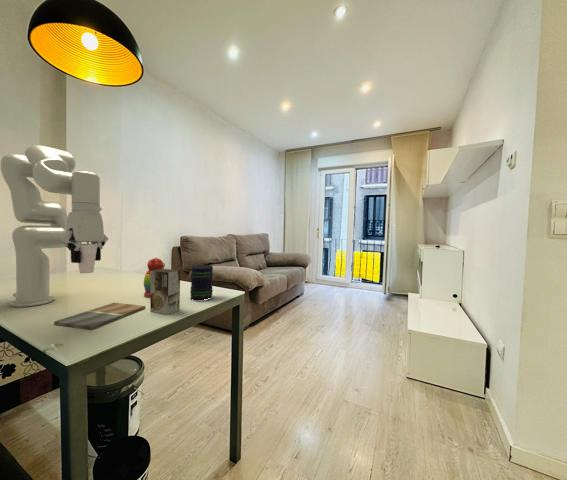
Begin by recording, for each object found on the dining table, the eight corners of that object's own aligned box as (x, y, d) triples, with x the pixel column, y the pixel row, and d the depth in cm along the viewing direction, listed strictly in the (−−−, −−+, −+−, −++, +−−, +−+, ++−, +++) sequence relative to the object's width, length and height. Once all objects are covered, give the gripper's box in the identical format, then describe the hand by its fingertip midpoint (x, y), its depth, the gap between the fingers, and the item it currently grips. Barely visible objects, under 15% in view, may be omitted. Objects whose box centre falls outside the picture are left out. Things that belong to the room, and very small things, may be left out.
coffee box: (180, 310, 98) (181, 269, 98) (168, 315, 92) (168, 272, 92) (162, 306, 101) (163, 267, 101) (149, 311, 95) (149, 270, 95)
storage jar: (216, 298, 116) (217, 266, 115) (197, 302, 108) (197, 268, 108) (205, 294, 122) (205, 264, 122) (186, 298, 115) (186, 266, 114)
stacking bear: (162, 298, 113) (163, 259, 113) (139, 298, 112) (139, 259, 111) (170, 292, 124) (170, 257, 124) (148, 292, 123) (149, 256, 122)
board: (54, 324, 80) (54, 321, 80) (113, 305, 102) (113, 302, 102) (92, 329, 77) (92, 326, 77) (145, 308, 98) (145, 306, 98)
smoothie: (85, 274, 81) (84, 231, 81) (69, 273, 82) (69, 231, 82) (102, 271, 87) (102, 231, 87) (88, 270, 88) (87, 231, 88)
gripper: (100, 211, 93) (100, 258, 94) (48, 206, 76) (49, 264, 77) (117, 211, 92) (117, 259, 92) (68, 206, 75) (68, 265, 75)
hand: (86, 261), depth 85 cm, fingers closed on smoothie, 6 cm apart
